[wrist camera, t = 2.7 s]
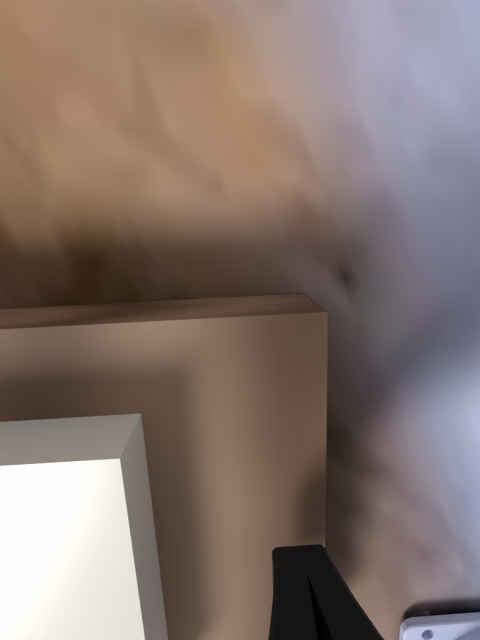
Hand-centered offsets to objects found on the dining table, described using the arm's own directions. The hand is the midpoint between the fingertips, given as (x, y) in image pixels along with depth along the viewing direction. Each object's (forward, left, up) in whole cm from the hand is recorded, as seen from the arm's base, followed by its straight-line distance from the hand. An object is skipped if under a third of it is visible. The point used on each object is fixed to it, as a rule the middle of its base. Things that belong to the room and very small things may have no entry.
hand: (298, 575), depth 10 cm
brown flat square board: (+6, 0, -4) cm, 7 cm away
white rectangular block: (+7, 0, -1) cm, 7 cm away
